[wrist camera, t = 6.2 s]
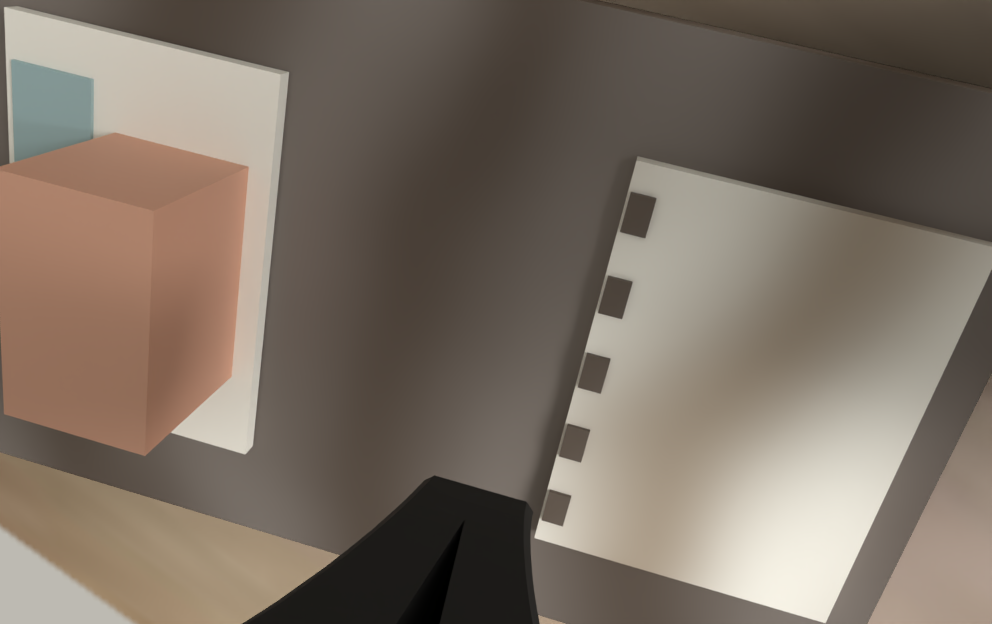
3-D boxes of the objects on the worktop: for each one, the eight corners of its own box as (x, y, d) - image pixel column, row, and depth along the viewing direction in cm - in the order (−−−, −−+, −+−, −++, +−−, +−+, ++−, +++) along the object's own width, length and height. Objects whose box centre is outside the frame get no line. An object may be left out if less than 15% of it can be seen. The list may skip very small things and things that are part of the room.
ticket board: (1078, 108, 16) (1130, 126, 14) (818, 656, 22) (831, 719, 20) (15, -131, 18) (-58, -142, 16) (31, 421, 24) (-23, 459, 22)
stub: (288, 71, 17) (187, 99, 14) (253, 445, 21) (165, 544, 17) (18, 5, 18) (-149, 16, 14) (28, 380, 21) (-101, 463, 18)
